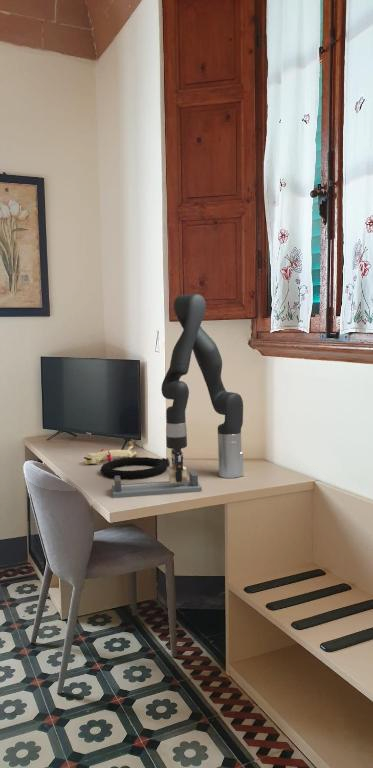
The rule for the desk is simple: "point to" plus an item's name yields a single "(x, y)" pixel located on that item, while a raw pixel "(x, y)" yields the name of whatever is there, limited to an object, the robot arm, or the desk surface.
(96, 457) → the cat figure
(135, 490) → the rail board
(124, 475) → the cable lock
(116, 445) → the desk surface
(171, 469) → the keeper
